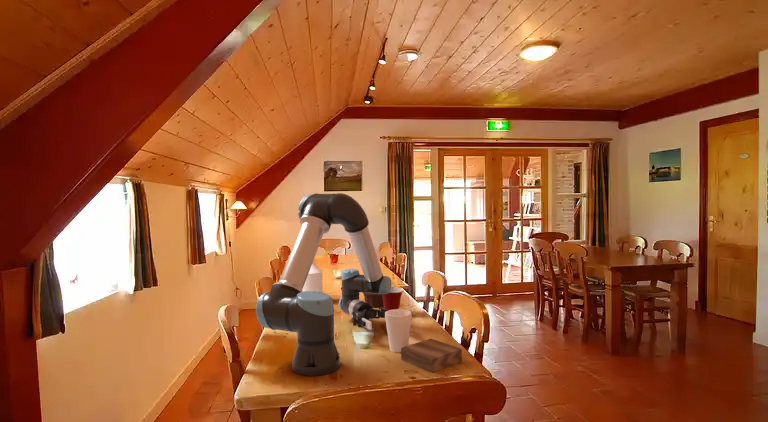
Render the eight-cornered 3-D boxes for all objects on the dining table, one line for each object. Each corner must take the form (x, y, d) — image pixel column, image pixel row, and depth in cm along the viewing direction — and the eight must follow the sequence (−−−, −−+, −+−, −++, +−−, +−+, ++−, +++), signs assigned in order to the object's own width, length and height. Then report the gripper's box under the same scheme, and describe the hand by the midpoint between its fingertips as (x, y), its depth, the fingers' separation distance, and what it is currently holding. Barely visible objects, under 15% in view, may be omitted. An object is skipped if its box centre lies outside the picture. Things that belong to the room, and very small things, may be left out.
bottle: (295, 302, 222) (294, 254, 222) (314, 298, 230) (313, 252, 230) (307, 306, 214) (306, 256, 213) (327, 302, 222) (326, 254, 221)
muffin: (388, 303, 218) (388, 283, 218) (383, 308, 207) (383, 288, 207) (366, 302, 221) (365, 283, 221) (360, 307, 210) (359, 287, 210)
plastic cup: (401, 317, 191) (401, 291, 191) (378, 316, 194) (377, 290, 193) (405, 311, 202) (405, 286, 202) (383, 310, 204) (382, 285, 204)
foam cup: (416, 347, 154) (416, 311, 153) (403, 355, 146) (403, 317, 145) (394, 343, 159) (393, 308, 158) (380, 350, 151) (379, 314, 150)
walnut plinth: (431, 372, 131) (431, 359, 131) (401, 359, 142) (401, 347, 142) (461, 360, 140) (461, 348, 140) (430, 349, 151) (430, 338, 151)
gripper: (387, 314, 184) (414, 327, 166) (333, 324, 172) (356, 339, 154) (386, 297, 184) (414, 308, 166) (333, 305, 172) (356, 318, 153)
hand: (386, 323), depth 160 cm, fingers open, 13 cm apart
